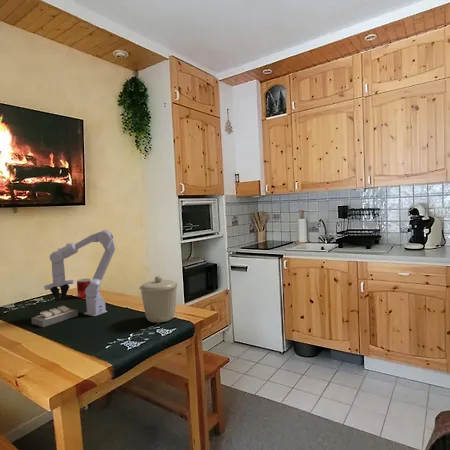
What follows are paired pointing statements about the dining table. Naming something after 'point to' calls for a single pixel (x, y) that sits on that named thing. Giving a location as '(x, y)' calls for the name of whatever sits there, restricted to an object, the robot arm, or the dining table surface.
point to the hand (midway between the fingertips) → (60, 300)
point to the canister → (159, 299)
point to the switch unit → (54, 318)
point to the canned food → (82, 287)
